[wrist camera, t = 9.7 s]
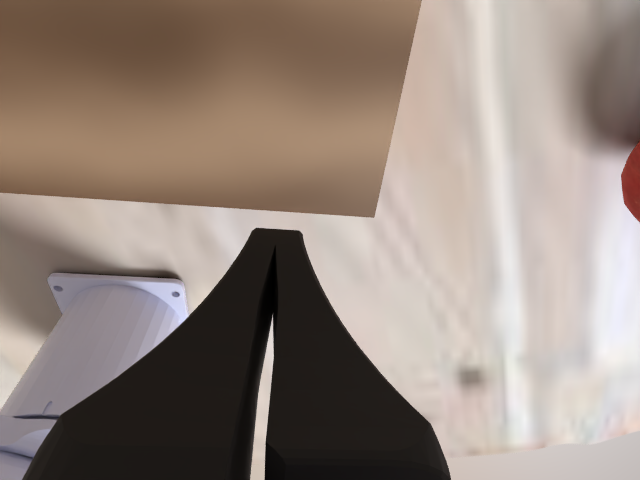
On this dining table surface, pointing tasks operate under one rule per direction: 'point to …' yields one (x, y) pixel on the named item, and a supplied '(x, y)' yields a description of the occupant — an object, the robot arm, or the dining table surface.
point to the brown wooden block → (203, 100)
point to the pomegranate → (632, 182)
